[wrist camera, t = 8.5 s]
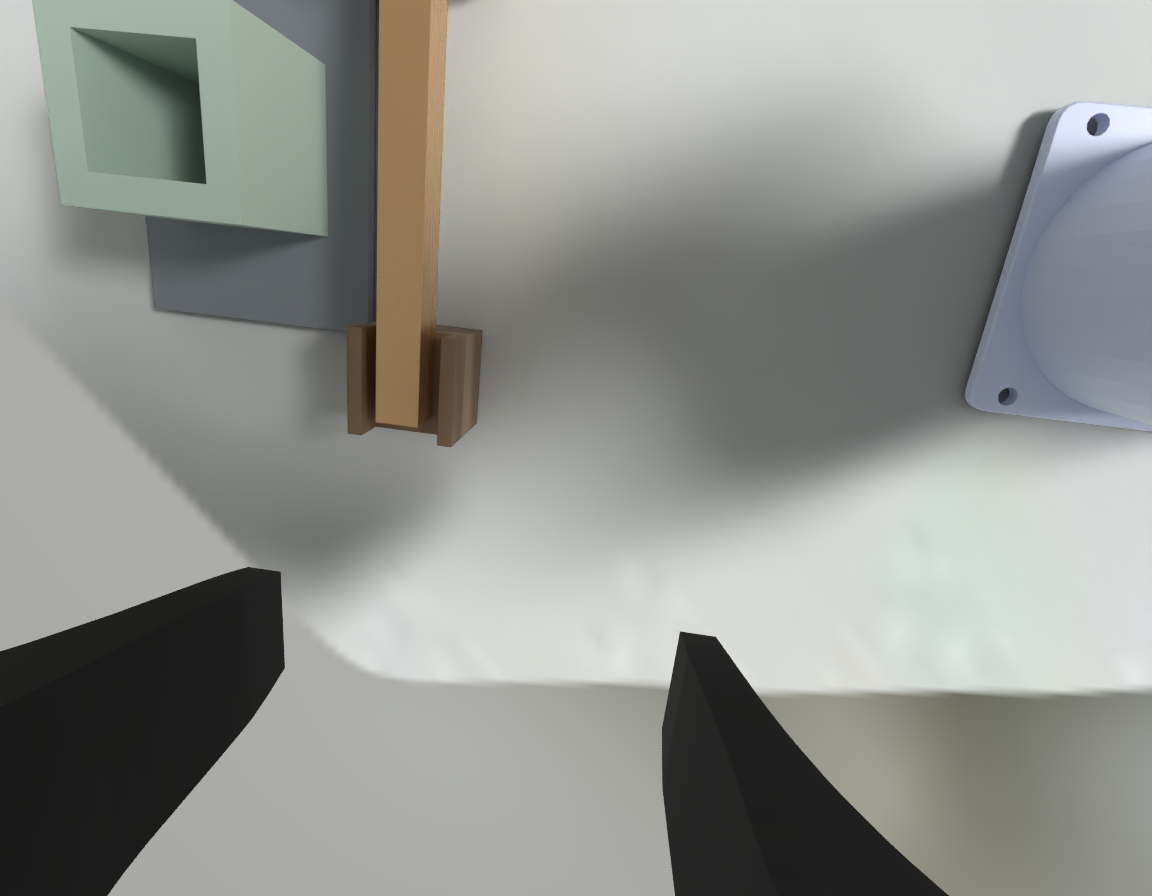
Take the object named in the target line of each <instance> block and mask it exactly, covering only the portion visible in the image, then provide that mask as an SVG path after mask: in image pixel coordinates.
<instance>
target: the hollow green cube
mask: <svg viewBox="0 0 1152 896" xmlns="http://www.w3.org/2000/svg"><path fill="white" fill-rule="evenodd" d="M32 3H33V10H34V17H35V24H36V32H37V39H38V46H39V53H40V60H41V67H42V74H43V81H44V88H45V96H46V103H47V110H48V117H49V124H50V131H51V138H52V145H53V152H54V160H55V167H56V174H57V181H58V188H59V195H60V202H61V205H66V206H74V207H81V208H89V209H97V210H105V211H113V212H121V213H128V214H136V215H144V216H152V217H160V218H168V219H176V220H183V221H192V222H201V223H210V224H219V225H228V226H237V227H246V228H255V229H265V230H274V231H283V232H292V233H301V234H310V235H319V236H328V200H327V140H326V80H325V64H324V63H322V62H321V61H320V60H318V59H317V58H315V57H314V56H312V55H311V54H309V53H308V52H307V51H305V50H304V49H302V48H301V47H299V46H298V45H296V44H295V43H294V42H292V41H291V40H289V39H288V38H286V37H285V36H283V35H282V34H281V33H279V32H278V31H276V30H275V29H273V28H272V27H270V26H269V25H268V24H266V23H265V22H263V21H262V20H260V19H259V18H258V17H256V16H255V15H253V14H252V13H250V12H249V11H247V10H246V9H245V8H243V7H242V6H240V5H239V4H237V3H236V2H234V1H233V0H32Z"/></svg>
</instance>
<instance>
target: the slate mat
mask: <svg viewBox="0 0 1152 896" xmlns="http://www.w3.org/2000/svg"><path fill="white" fill-rule="evenodd" d="M233 1H234V2H236V3H237V4H239V5H240V6H242V7H243V8H245V9H246V10H247V11H249V12H250V13H252V14H253V15H255V16H256V17H258V18H259V19H260V20H262V21H263V22H265V23H266V24H268V25H269V26H270V27H272V28H273V29H275V30H276V31H278V32H279V33H281V34H282V35H283V36H285V37H286V38H288V39H289V40H291V41H292V42H294V43H295V44H296V45H298V46H299V47H301V48H302V49H304V50H305V51H307V52H308V53H309V54H311V55H312V56H314V57H315V58H317V59H318V60H320V61H321V62H322V63H324V64H325V80H326V140H327V200H328V236H319V235H310V234H301V233H292V232H283V231H274V230H265V229H255V228H246V227H237V226H228V225H219V224H210V223H201V222H192V221H183V220H176V219H168V218H160V217H152V216H146V223H147V233H148V243H149V253H150V263H151V273H152V284H153V294H154V304H155V308H157V309H165V310H173V311H181V312H189V313H197V314H205V315H213V316H222V317H230V318H238V319H246V320H254V321H262V322H270V323H278V324H287V325H295V326H303V327H311V328H319V329H327V330H335V331H343V332H347V326H352V325H358V324H364V323H370V322H373V321H374V183H375V46H376V0H233Z"/></svg>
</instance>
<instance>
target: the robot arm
mask: <svg viewBox="0 0 1152 896" xmlns="http://www.w3.org/2000/svg"><path fill="white" fill-rule="evenodd" d="M1091 117H1092V118H1094V119H1096V121H1097V123H1098V127H1097V131H1096V133H1095V134H1094V136H1092V135H1090V134H1089V133H1088V131H1087V123H1088V121H1089V119H1090V118H1091ZM1005 388H1008V389H1009V396H1008V398H1007V399H1006V400H1005V401H1003V402H1001V403H1000V402H999V401H998V395H999V394H1000V392H1001V391H1002V390H1004V389H1005ZM965 399H966V401H967V403H968V404H969V405H970V406H971V407H973V408H976V409H979V410H982V411H987V412H995V413H1003V414H1012V415H1020V416H1028V417H1036V418H1044V419H1052V420H1060V421H1068V422H1077V423H1085V424H1093V425H1101V426H1109V427H1117V428H1125V429H1133V430H1141V431H1150V432H1152V107H1144V106H1133V105H1123V104H1112V103H1101V102H1090V101H1078V102H1073V103H1071V104H1068V105H1066V106H1064V107H1062V108H1060V109H1058V110H1057V111H1056V112H1055V113H1054V114H1053V115H1052V116H1051V118H1050V120H1049V122H1048V124H1047V127H1046V131H1045V134H1044V137H1043V140H1042V144H1041V147H1040V150H1039V153H1038V157H1037V160H1036V163H1035V166H1034V170H1033V173H1032V176H1031V179H1030V182H1029V186H1028V189H1027V192H1026V195H1025V199H1024V202H1023V205H1022V208H1021V212H1020V215H1019V218H1018V221H1017V225H1016V228H1015V231H1014V234H1013V238H1012V241H1011V244H1010V247H1009V250H1008V254H1007V257H1006V260H1005V263H1004V267H1003V270H1002V273H1001V276H1000V280H999V283H998V286H997V289H996V293H995V296H994V299H993V302H992V306H991V309H990V312H989V315H988V318H987V322H986V325H985V328H984V331H983V335H982V338H981V341H980V344H979V348H978V351H977V354H976V357H975V361H974V364H973V367H972V370H971V374H970V377H969V380H968V383H967V386H966V390H965ZM284 664H285V663H284V641H283V618H282V595H281V572H278V571H271V570H264V569H257V568H251V567H247V568H243V569H240V570H236V571H233V572H229V573H226V574H223V575H220V576H217V577H214V578H211V579H208V580H205V581H202V582H200V583H197V584H194V585H191V586H189V587H186V588H183V589H180V590H177V591H175V592H172V593H169V594H167V595H164V596H161V597H159V598H156V599H153V600H150V601H148V602H145V603H142V604H140V605H137V606H134V607H131V608H128V609H126V610H123V611H120V612H118V613H115V614H112V615H109V616H106V617H104V618H100V619H97V620H95V621H91V622H89V623H86V624H83V625H80V626H77V627H74V628H71V629H68V630H65V631H62V632H59V633H56V634H53V635H50V636H47V637H45V638H41V639H38V640H35V641H32V642H29V643H26V644H23V645H20V646H17V647H13V648H10V649H7V650H4V651H0V896H107V895H108V894H109V893H110V891H111V890H112V888H113V887H114V885H115V884H116V883H117V881H118V880H119V879H120V877H121V876H122V875H123V873H124V872H125V870H126V869H127V868H128V867H129V866H130V864H131V863H132V862H133V860H134V859H135V858H136V857H137V855H138V854H139V853H140V851H141V850H142V849H143V848H144V847H145V845H146V844H147V843H148V842H149V840H150V839H151V838H152V837H153V836H154V835H155V833H156V832H157V831H158V830H159V829H160V827H161V826H162V825H163V824H164V823H165V822H166V820H167V819H168V818H169V817H170V816H171V815H172V813H173V812H174V811H175V810H176V809H177V807H178V806H179V805H180V804H181V803H182V801H183V800H184V799H185V798H186V797H187V796H188V795H189V793H190V792H191V791H192V790H193V788H194V787H195V786H196V785H197V784H198V783H199V782H200V780H201V779H202V778H203V777H204V775H206V773H207V772H208V771H209V770H210V769H211V767H212V766H213V765H214V764H215V763H216V761H217V760H218V759H219V758H220V757H221V756H222V754H223V753H224V752H225V751H226V750H227V748H228V747H229V746H230V745H231V743H232V742H233V741H234V740H235V738H237V736H238V735H239V734H240V732H242V730H243V729H244V728H245V727H246V725H247V724H248V723H249V721H250V720H251V719H252V718H253V716H254V715H255V713H256V712H257V710H258V709H259V707H260V706H261V704H262V703H263V701H264V700H265V699H266V697H267V696H268V694H269V692H270V691H271V689H272V687H273V686H274V684H275V683H276V681H277V679H278V678H279V676H280V674H281V673H282V672H283V670H284V668H285V665H284ZM662 774H663V775H662V782H663V796H664V805H665V813H666V822H667V831H668V840H669V847H670V856H671V865H672V873H673V881H674V890H675V896H948V895H947V894H946V893H945V892H944V891H943V890H942V889H940V888H939V887H938V886H937V885H936V884H935V883H934V882H932V881H931V880H930V879H929V878H928V877H927V876H925V875H924V874H923V873H922V872H921V871H920V870H919V869H918V868H917V867H915V866H914V865H913V864H912V863H911V862H910V861H909V860H907V859H906V858H905V857H904V856H903V855H902V854H901V853H900V852H899V851H898V850H897V849H895V847H894V846H892V845H891V844H890V843H889V842H888V841H887V840H886V839H885V838H884V837H883V836H882V835H881V834H880V833H879V832H878V831H877V830H876V829H875V828H874V827H873V826H872V825H871V824H870V823H869V822H868V821H867V820H866V819H865V818H864V817H863V816H862V815H861V814H860V813H859V812H858V811H857V810H856V809H855V808H854V807H853V806H852V805H851V804H850V803H849V802H848V801H847V800H846V799H845V798H844V797H843V796H842V795H841V794H840V793H839V792H838V791H837V790H836V789H835V788H834V787H833V785H832V784H831V783H830V782H829V781H828V780H827V779H826V778H825V777H824V776H823V775H822V773H821V772H820V771H819V770H818V769H817V768H816V767H815V765H814V764H813V763H812V762H811V761H810V760H809V759H808V757H807V756H806V755H805V754H804V753H803V752H802V751H801V749H800V748H799V747H798V746H797V745H796V744H795V742H794V741H793V740H792V739H791V738H790V737H789V735H788V734H787V733H786V732H785V730H784V729H783V728H782V726H781V725H780V724H779V723H778V721H777V720H776V719H775V717H774V716H773V715H772V714H771V712H770V711H769V710H768V709H767V707H766V706H765V705H764V703H763V702H762V701H761V699H760V698H759V697H758V695H757V694H756V692H755V691H754V690H753V688H752V687H751V686H750V684H749V683H748V681H747V680H746V679H745V677H744V676H743V674H742V673H741V672H740V670H739V669H738V667H737V666H736V665H735V663H734V662H733V660H732V659H731V658H730V656H729V655H728V653H727V652H726V650H725V649H724V648H723V646H722V645H721V644H720V642H719V641H718V639H717V638H716V637H713V636H706V635H699V634H693V633H686V632H680V635H679V641H678V646H677V651H676V657H675V662H674V667H673V673H672V678H671V683H670V689H669V694H668V700H667V705H666V711H665V716H664V721H663V726H662Z"/></svg>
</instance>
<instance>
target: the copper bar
mask: <svg viewBox="0 0 1152 896" xmlns="http://www.w3.org/2000/svg"><path fill="white" fill-rule="evenodd" d="M447 12H448V0H379V86H378V201H377V315H376V422H379V423H386V424H394V425H402V426H409V427H417V428H418V427H419V426H421V425H422V424H424V423H425V422H427V421H428V420H429V419H431V418H432V408H433V382H434V355H435V329H436V303H437V276H438V250H439V223H440V197H441V171H442V144H443V118H444V91H445V65H446V39H447Z"/></svg>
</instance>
